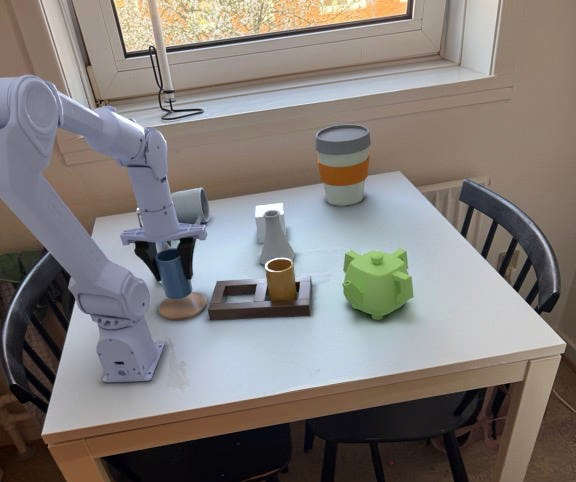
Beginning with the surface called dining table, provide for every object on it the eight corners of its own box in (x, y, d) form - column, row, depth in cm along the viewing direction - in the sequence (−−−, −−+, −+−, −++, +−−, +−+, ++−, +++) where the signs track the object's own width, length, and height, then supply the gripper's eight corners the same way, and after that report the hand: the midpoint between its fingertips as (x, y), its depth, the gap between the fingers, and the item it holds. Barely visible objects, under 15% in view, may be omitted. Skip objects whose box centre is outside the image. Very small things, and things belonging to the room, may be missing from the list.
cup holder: (310, 315, 96) (309, 304, 95) (209, 320, 98) (207, 310, 97) (312, 285, 104) (311, 275, 102) (218, 290, 106) (216, 280, 104)
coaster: (202, 319, 99) (201, 317, 98) (153, 321, 100) (153, 319, 100) (210, 292, 105) (210, 290, 105) (165, 295, 107) (164, 293, 106)
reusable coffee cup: (345, 183, 139) (342, 120, 130) (381, 195, 132) (382, 129, 122) (308, 200, 134) (302, 135, 124) (344, 213, 126) (341, 145, 116)
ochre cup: (296, 308, 98) (292, 271, 93) (268, 309, 99) (263, 272, 94) (298, 293, 102) (294, 257, 97) (271, 294, 103) (266, 258, 98)
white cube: (286, 240, 119) (283, 214, 115) (259, 243, 119) (255, 217, 115) (285, 228, 123) (282, 202, 119) (259, 231, 124) (255, 205, 120)
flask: (253, 265, 112) (246, 218, 105) (270, 249, 116) (264, 203, 110) (284, 270, 109) (278, 223, 102) (301, 254, 113) (296, 207, 107)
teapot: (344, 289, 101) (341, 240, 95) (407, 286, 100) (409, 236, 93) (343, 326, 93) (341, 275, 86) (413, 323, 91) (415, 271, 85)
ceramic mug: (178, 216, 135) (170, 185, 129) (211, 213, 134) (204, 182, 129) (170, 236, 127) (161, 204, 122) (205, 233, 126) (197, 201, 121)
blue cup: (189, 298, 98) (179, 261, 94) (162, 300, 99) (151, 262, 94) (194, 284, 102) (185, 247, 97) (169, 285, 103) (158, 249, 98)
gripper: (203, 191, 92) (218, 264, 101) (120, 198, 94) (142, 268, 103) (195, 209, 87) (211, 284, 96) (107, 215, 88) (131, 288, 97)
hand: (175, 277), depth 99 cm, fingers closed on blue cup, 5 cm apart
